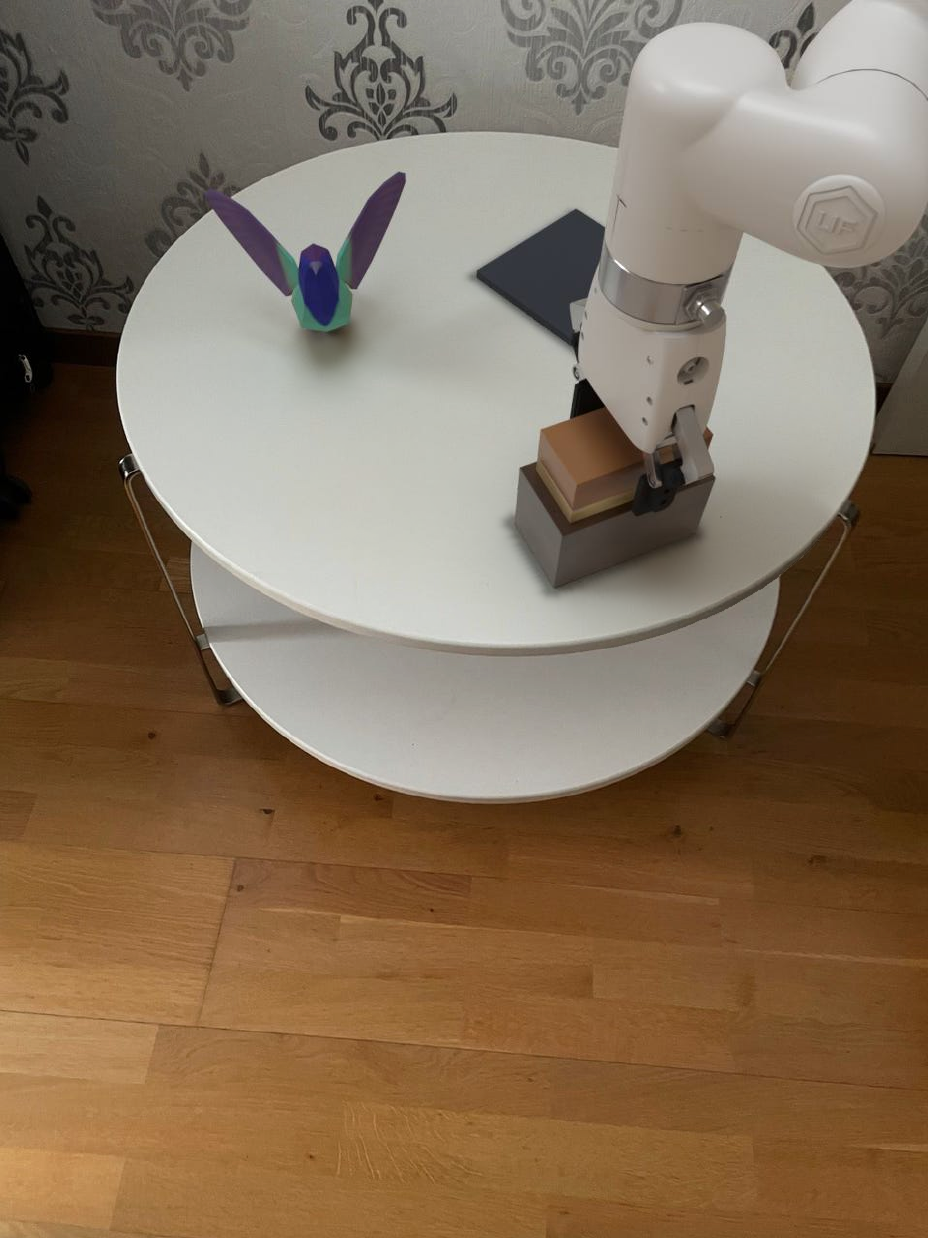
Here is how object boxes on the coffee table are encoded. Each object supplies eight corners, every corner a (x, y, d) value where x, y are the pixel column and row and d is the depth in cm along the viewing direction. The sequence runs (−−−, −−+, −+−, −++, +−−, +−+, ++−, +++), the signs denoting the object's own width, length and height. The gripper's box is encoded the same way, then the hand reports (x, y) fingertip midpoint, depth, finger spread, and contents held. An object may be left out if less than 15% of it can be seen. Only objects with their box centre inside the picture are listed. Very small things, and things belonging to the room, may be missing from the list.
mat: (695, 293, 91) (697, 286, 91) (596, 364, 86) (597, 357, 86) (575, 214, 97) (576, 207, 97) (476, 277, 92) (476, 270, 92)
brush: (662, 424, 73) (673, 382, 70) (699, 475, 71) (713, 434, 67) (535, 470, 71) (540, 429, 67) (569, 524, 69) (576, 484, 65)
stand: (652, 471, 80) (668, 413, 74) (696, 533, 77) (716, 477, 71) (514, 522, 77) (519, 467, 71) (553, 588, 74) (562, 536, 68)
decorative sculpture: (239, 425, 82) (199, 285, 69) (231, 282, 92) (195, 134, 79) (434, 403, 84) (430, 261, 71) (407, 264, 93) (399, 117, 80)
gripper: (804, 346, 52) (726, 531, 67) (645, 167, 60) (606, 368, 75) (687, 387, 50) (633, 568, 65) (539, 197, 58) (521, 397, 73)
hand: (619, 461), depth 70 cm, fingers open, 8 cm apart
